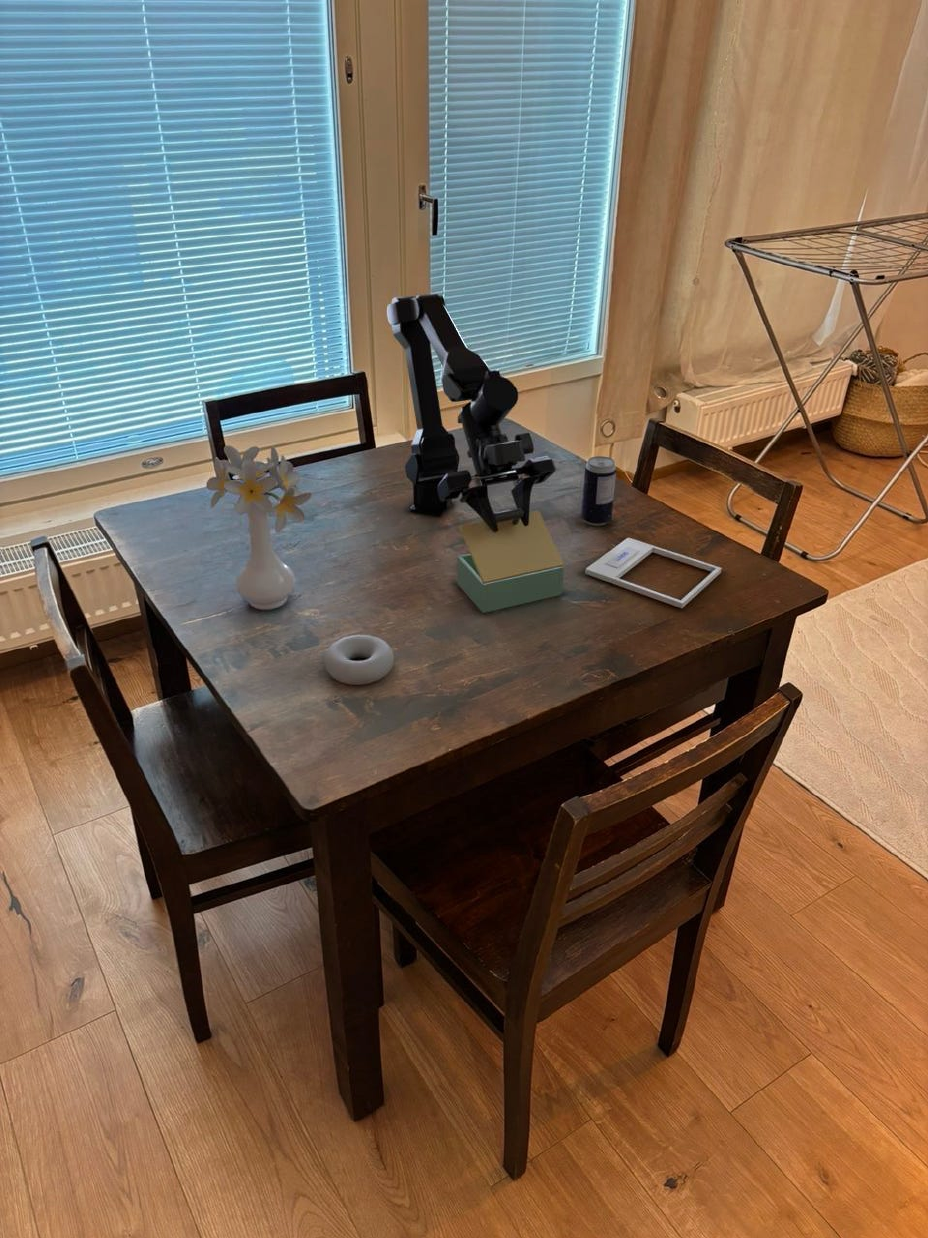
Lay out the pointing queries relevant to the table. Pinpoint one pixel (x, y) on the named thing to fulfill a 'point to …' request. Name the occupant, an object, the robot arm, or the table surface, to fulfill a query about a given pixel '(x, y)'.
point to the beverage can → (598, 490)
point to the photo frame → (631, 555)
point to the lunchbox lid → (511, 546)
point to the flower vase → (261, 519)
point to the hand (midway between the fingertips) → (511, 528)
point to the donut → (359, 671)
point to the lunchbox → (507, 586)
